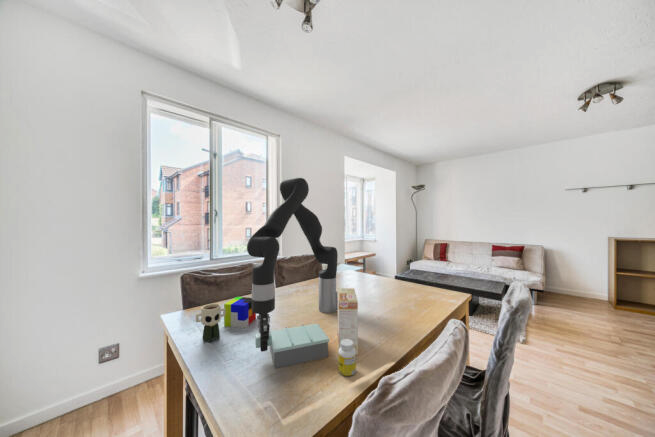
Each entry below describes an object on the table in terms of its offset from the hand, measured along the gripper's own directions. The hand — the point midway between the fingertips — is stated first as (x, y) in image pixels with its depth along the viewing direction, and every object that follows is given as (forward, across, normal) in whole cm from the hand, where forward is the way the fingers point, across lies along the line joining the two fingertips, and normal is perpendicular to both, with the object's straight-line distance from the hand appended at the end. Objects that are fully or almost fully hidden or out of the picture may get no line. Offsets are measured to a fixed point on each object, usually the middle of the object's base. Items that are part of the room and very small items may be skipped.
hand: (263, 347), depth 78 cm
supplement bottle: (+5, -15, -24) cm, 29 cm away
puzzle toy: (+5, +35, +7) cm, 36 cm away
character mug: (+5, +23, +18) cm, 30 cm away
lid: (-1, 0, -9) cm, 9 cm away
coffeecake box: (+5, 0, -31) cm, 31 cm away
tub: (+5, 0, -12) cm, 13 cm away
